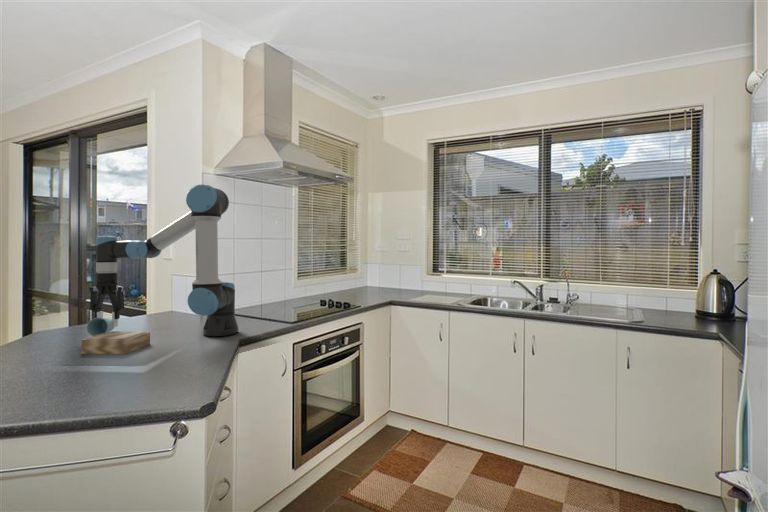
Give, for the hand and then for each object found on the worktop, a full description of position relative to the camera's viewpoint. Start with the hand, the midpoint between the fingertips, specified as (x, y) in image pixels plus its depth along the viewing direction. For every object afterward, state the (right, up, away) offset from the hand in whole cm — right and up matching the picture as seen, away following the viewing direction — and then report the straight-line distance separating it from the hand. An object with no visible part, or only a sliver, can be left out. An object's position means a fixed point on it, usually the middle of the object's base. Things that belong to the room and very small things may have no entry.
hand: (107, 326), depth 179 cm
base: (+16, -5, -18) cm, 24 cm away
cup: (+1, -4, -1) cm, 4 cm away
